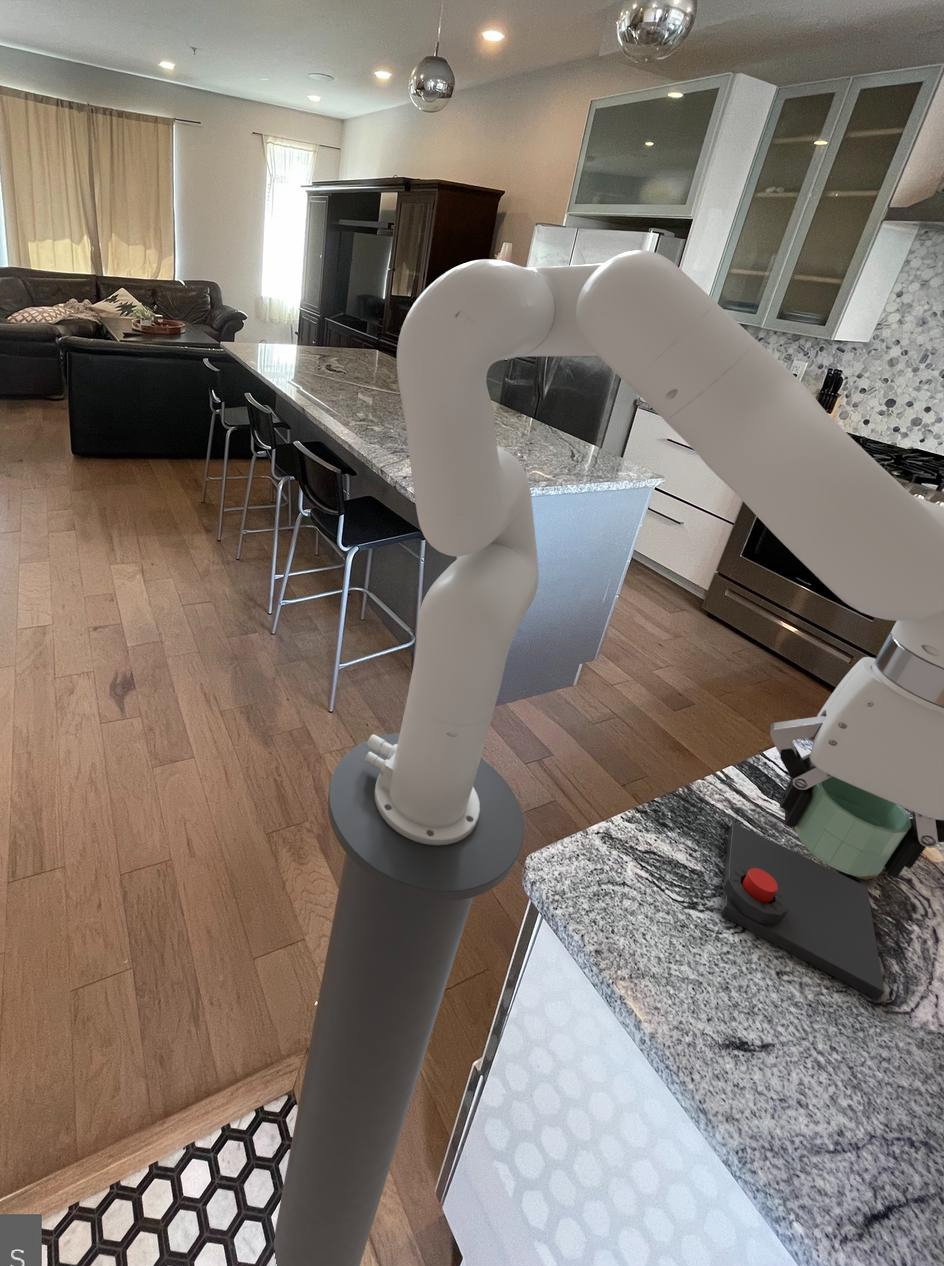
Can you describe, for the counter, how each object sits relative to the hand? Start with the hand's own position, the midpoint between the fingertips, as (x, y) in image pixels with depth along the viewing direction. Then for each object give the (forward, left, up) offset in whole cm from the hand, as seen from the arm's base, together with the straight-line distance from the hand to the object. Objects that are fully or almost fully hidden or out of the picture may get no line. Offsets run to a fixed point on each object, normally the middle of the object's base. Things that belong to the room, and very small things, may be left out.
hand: (837, 838), depth 55 cm
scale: (+3, +11, -17) cm, 21 cm away
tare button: (-1, +7, -15) cm, 16 cm away
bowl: (0, 0, -1) cm, 1 cm away
